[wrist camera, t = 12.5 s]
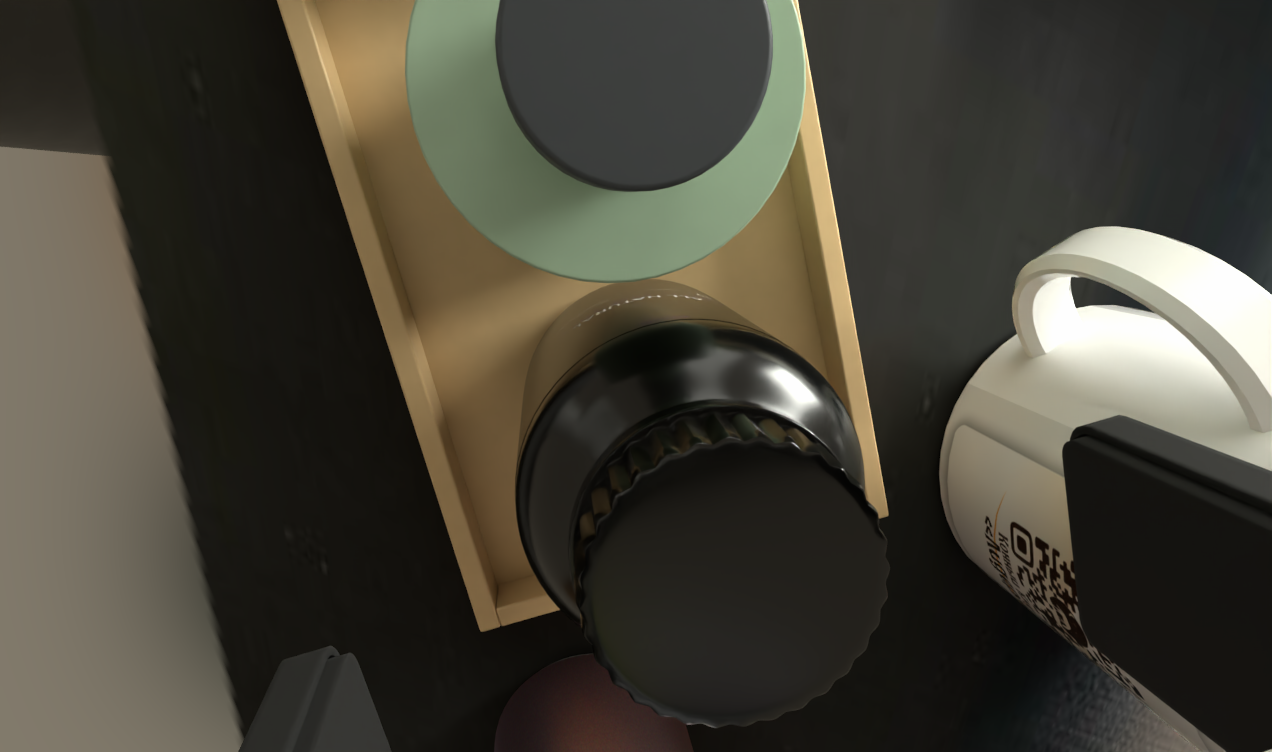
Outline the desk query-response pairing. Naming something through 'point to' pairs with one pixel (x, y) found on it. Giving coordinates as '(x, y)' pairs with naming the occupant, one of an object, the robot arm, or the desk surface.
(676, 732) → the beverage can
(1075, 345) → the mug
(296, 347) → the desk surface
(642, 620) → the supplement bottle
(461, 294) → the tray
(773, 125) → the middle bottle
